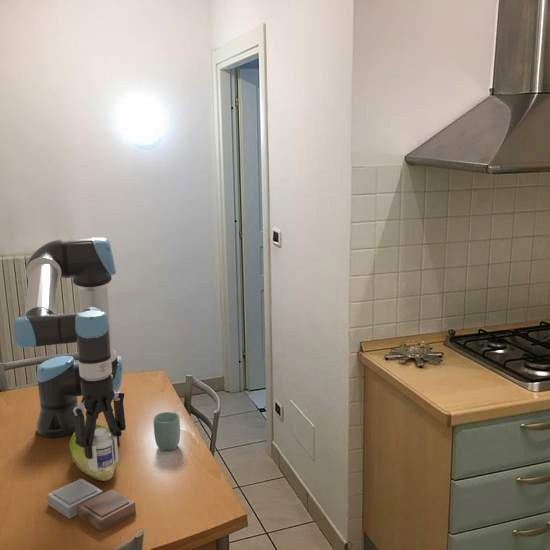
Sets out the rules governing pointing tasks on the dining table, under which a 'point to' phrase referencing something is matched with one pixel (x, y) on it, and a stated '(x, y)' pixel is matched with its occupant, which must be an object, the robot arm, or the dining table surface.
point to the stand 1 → (72, 497)
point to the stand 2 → (106, 510)
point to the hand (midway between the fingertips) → (103, 464)
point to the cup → (167, 430)
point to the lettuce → (82, 461)
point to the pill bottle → (103, 449)
